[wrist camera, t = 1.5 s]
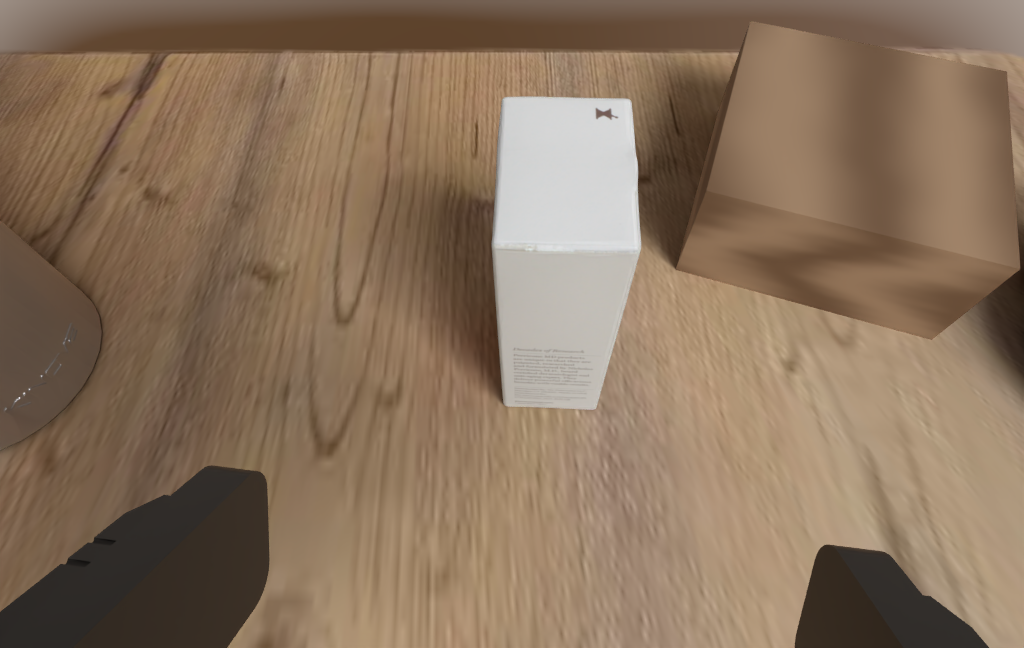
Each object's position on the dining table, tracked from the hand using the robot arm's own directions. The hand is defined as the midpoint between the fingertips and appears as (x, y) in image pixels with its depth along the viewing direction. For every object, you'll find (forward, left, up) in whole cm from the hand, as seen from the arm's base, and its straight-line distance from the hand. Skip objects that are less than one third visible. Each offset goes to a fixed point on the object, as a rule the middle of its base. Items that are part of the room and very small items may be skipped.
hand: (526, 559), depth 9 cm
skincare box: (-2, +11, -16) cm, 19 cm away
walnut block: (+9, +23, -16) cm, 30 cm away
